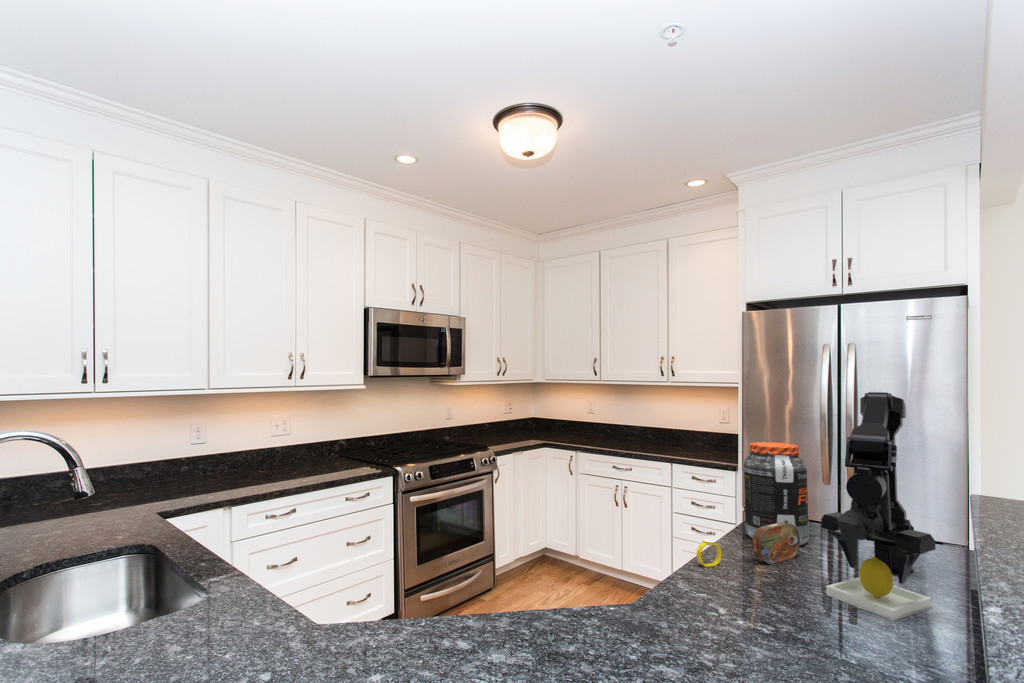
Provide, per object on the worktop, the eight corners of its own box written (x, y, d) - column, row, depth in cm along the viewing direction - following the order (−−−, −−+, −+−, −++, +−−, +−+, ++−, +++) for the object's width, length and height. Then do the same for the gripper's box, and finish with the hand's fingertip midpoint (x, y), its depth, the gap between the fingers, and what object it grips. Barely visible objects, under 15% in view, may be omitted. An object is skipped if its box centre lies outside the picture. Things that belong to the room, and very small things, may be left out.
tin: (761, 566, 122) (760, 530, 123) (750, 562, 125) (749, 527, 125) (801, 556, 129) (800, 522, 130) (790, 552, 132) (788, 519, 132)
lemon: (900, 605, 100) (897, 563, 100) (868, 603, 101) (866, 561, 102) (885, 593, 105) (883, 553, 106) (855, 591, 106) (853, 551, 107)
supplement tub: (809, 551, 132) (805, 449, 134) (742, 542, 140) (739, 445, 142) (809, 535, 146) (806, 443, 148) (749, 527, 154) (746, 439, 156)
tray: (864, 584, 111) (863, 575, 112) (931, 607, 100) (931, 598, 100) (826, 594, 106) (825, 585, 106) (893, 620, 95) (893, 610, 95)
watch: (715, 563, 125) (716, 538, 125) (723, 567, 122) (724, 541, 123) (694, 564, 123) (695, 538, 124) (701, 568, 121) (702, 542, 121)
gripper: (802, 490, 109) (805, 566, 108) (900, 510, 93) (904, 600, 91) (836, 485, 114) (839, 558, 113) (934, 504, 97) (939, 589, 96)
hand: (876, 575), depth 103 cm, fingers open, 9 cm apart
